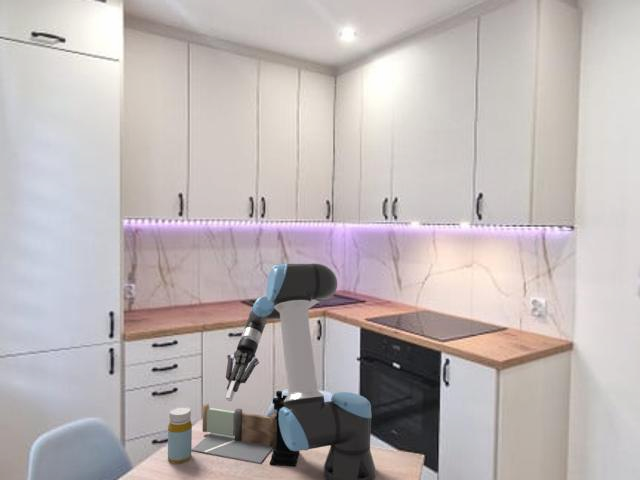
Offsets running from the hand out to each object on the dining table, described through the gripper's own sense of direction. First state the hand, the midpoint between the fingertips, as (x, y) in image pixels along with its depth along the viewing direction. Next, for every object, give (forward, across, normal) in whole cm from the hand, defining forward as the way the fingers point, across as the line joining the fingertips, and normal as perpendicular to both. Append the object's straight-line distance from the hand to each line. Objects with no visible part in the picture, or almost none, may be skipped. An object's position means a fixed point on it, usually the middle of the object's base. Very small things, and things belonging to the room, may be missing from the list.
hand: (228, 399), depth 161 cm
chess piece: (+17, -28, +4) cm, 33 cm away
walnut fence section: (+13, -15, 0) cm, 20 cm away
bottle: (+25, +3, +11) cm, 27 cm away
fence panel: (+12, -1, +1) cm, 12 cm away
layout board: (+15, -10, +2) cm, 18 cm away
